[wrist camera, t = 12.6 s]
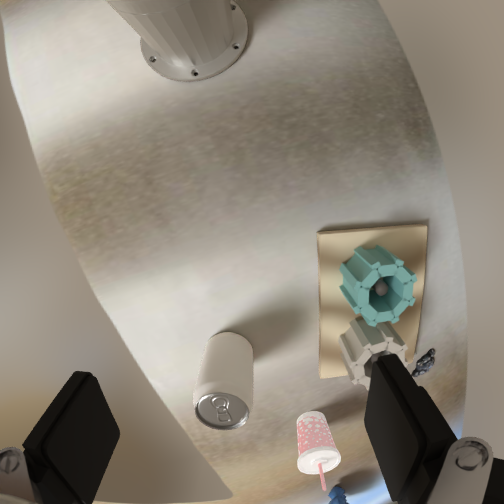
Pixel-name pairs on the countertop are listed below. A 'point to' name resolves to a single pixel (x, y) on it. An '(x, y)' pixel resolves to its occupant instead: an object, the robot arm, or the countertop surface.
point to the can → (225, 382)
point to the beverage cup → (316, 445)
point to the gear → (368, 348)
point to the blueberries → (424, 363)
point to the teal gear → (366, 274)
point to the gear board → (337, 307)
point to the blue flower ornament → (337, 496)
